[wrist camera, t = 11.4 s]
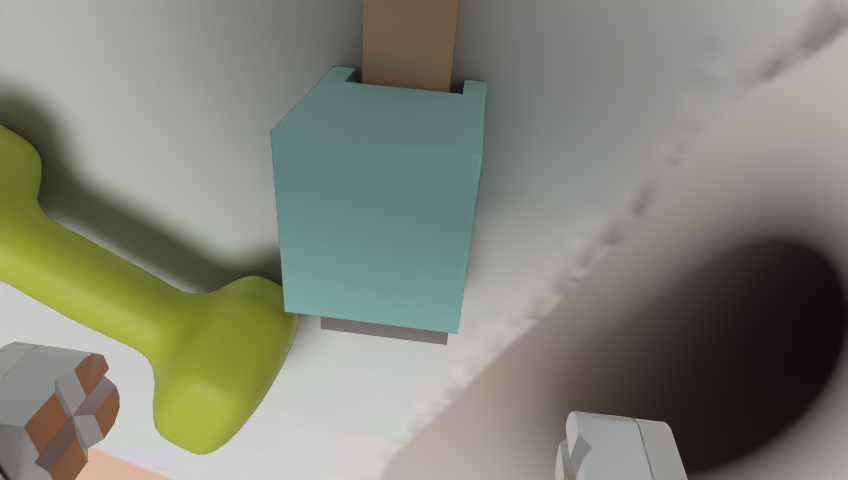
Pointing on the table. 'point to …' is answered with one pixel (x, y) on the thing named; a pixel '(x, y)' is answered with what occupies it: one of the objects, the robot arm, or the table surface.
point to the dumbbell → (148, 313)
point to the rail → (406, 68)
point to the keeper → (378, 200)
